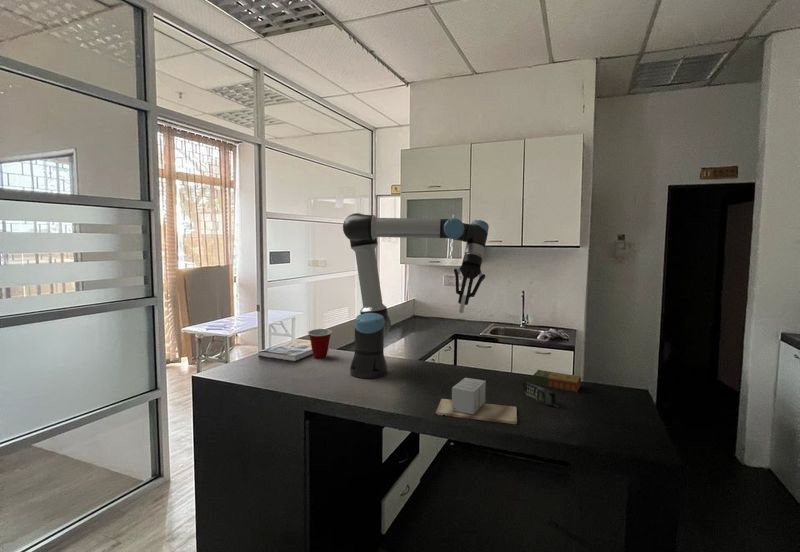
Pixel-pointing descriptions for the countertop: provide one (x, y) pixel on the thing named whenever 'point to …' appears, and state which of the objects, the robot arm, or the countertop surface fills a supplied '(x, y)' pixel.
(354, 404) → the countertop surface
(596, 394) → the countertop surface
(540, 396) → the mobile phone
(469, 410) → the supplement box
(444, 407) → the wooden board
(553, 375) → the carton
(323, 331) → the plastic cup
